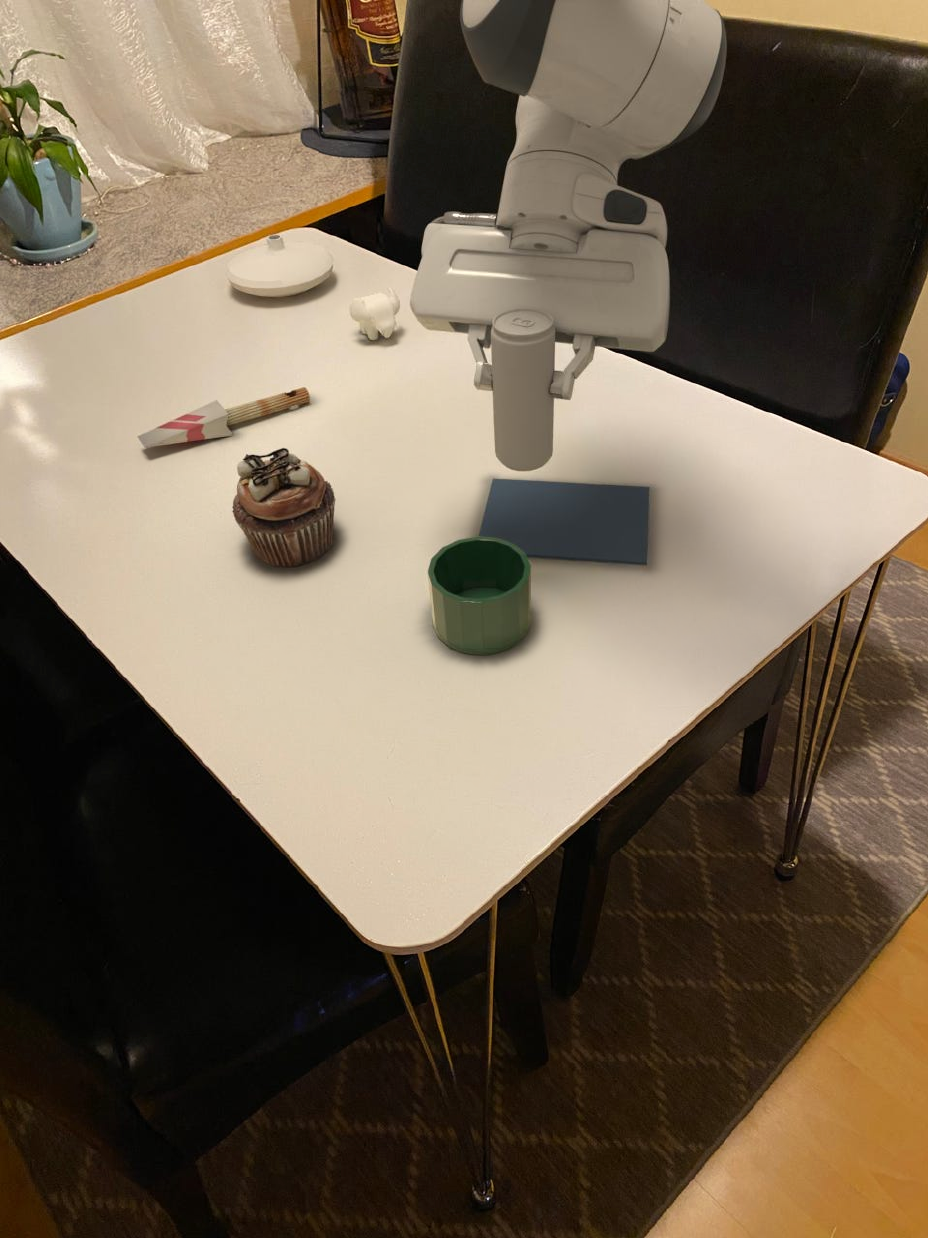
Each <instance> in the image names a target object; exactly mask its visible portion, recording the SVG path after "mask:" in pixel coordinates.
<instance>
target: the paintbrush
mask: <svg viewBox="0 0 928 1238" xmlns="http://www.w3.org/2000/svg"><path fill="white" fill-rule="evenodd" d="M310 401H311V396H310V392H309V390H308V389H307V387H305V386H303V387H299V388H296V389H292V390H290V391H288V392H282V393H278V394H274V395H271V396H267V397H264V398H261V399H257V400H254V401H251V402H247V403H243V404H240V405H236V406H232V407H228V408H224V407H223V406H222V405H221V403H220V402H219V401H218V399H215V400H213V401H211V402H209V403H207V404H205V405H203V406H201V407H199V408H196V409H194V410H191V411H190V412H187V413H185V414H183V415H180V416H179V417H177V418H175V419H171V420H169V421H168V422H166V423H163V424H161V425H158V426H157V427H155V428H153V429H150V430H148V431H146V432H144V433H142V434H140V435H137V438H138V440H139V441H140V443H141V445H142V446H143V448H150V447H158V446H159V447H160V446H166V445H174V444H180V443H187V442H195V441H202V440H210V439H217V438H223V437H224V438H225V437H231V436H234V434H233V433H232V431H231V430H230V429H229V427H228V426H231V425H236V424H238V423H241V422H245V421H248V420H253V419H256V418H259V417H263V416H266V415H269V414H273V413H275V412H280V411H283V410H286V409H290V408H292V407H294V406H300V405H303V404H307V403H310Z"/></svg>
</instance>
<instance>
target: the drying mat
mask: <svg viewBox="0 0 928 1238" xmlns="http://www.w3.org/2000/svg"><path fill="white" fill-rule="evenodd" d="M649 512H650V486H642V485H641V486H640V485H622V484H607V483H605V484H603V483H588V482H587V483H585V482H566V481H546V480H531V479H530V480H527V479H511V478H492V481H491V484H490V488H489V493H488V496H487V501H486V504H485V509H484V513H483V518H482V522H481V525H480V530H479V533H478V536H479V537H495V538H499V539H502V540H505V541H508V542H511V543H513V544H515V545H516V546H517V547H518V548H520V549H521V550H522V551H523V552H525V553H526V556H527V558H528V559H529V558H531V559H545V560H560V561H562V560H563V561H574V562H575V561H576V562H577V561H578V562H592V563H605V564H619V565H620V564H622V565H636V566H647V565H648V555H649V551H648V550H649V547H648V546H649V521H650V520H649V518H650V517H649V516H650V515H649V514H650V513H649Z"/></svg>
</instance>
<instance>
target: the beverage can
mask: <svg viewBox="0 0 928 1238" xmlns="http://www.w3.org/2000/svg"><path fill="white" fill-rule="evenodd" d="M553 322H554V320H553V317H552V316H551V315H550V314H549V313H547V312H545V311H543V310H540V309H535V308H514V309H509V310H506V311H503V312H501V313H499V314H498V315H496V316H495V317H494V319H493V322H492V324H493V326H492V329H491V346H490V351H491V364H492V382H493V391H492V410H493V411H492V413H493V414H492V415H493V435H494V436H493V437H494V440H493V441H494V454H495V457H496V458H497V460H498V461H499V462H500V464H501V465H503V466H504V467H505V468H506V469H509V470H511V471H515V472H531V471H535V470H538V469H541V468H542V467H544V466H545V465H546V464H548V463H549V461H550V460H551V458H552V457H553V454H554V453H553V452H554V419H555V418H554V417H555V415H554V413H555V398H552V396H551V395H550V386H551V384H552V383H553V380H552V375H553V371H554V370H555V371H556V367H555V366H556V365H555V363H556V342H555V327H554V325H553Z"/></svg>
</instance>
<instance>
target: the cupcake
mask: <svg viewBox="0 0 928 1238" xmlns="http://www.w3.org/2000/svg"><path fill="white" fill-rule="evenodd" d="M263 458H269V459H267V460H263ZM236 471H237V475H238V476H239V477H240V478H239V480H238V482H237V485H236V494H235V496H234V498H233V500H232V510H231V512H232V514H233V517H234V521H235V522H236V524H237V525H238V527H239V528H240V530H241V531H242V533H243V534H244V535H245V537H246V539H247V541H248V543H249V546H250V547H251V550H252V551H253V552H254V554H255V555H256V556H257V558H259V559H260V561H261V562H264V563H266V564H267V565H269V566H273V567H276V568H277V567H278V568H297V567H300V566H303V565H305V564H308V563H312V562H314V561H317V560H318V559H320V558H322V556H324V555H325V553H327V552H328V551H329V550H330V548H331V546H332V545H333V541H334V523H335V521H334V518H335V506H336V500H337V499H336V497H335V491H334V488H333V487H332V485H331V483H330V482H329V481H328V480H325V478H324V476H323V475H322V473H321V472H319V470H317V469H316V468H315V467H314V466H312V465H311V464H310V463H308V462H307V461H305V460H303V459H300V458H299V457H298V456H297V455H296V454H294V453H290V451H289V449H288V448H285V447H282V448H278V449H276V450H273V451H272V452H270V453H268V454H263V455H258V454H253V453H252V454H247V453H246V454H245V456H244V458H242V460H241V461H240V462H239V461H238V463H237V465H236Z"/></svg>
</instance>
